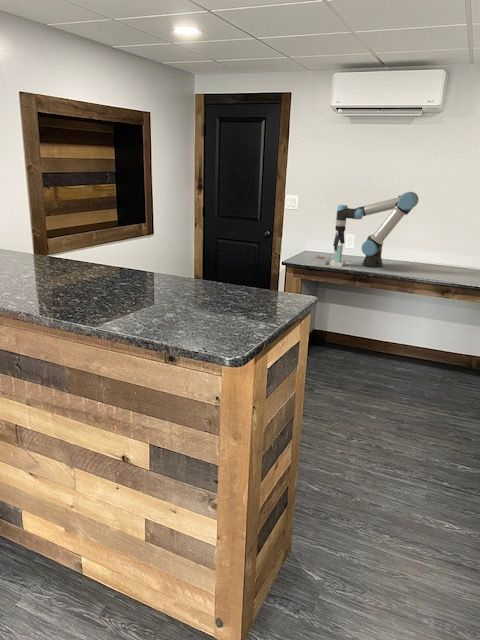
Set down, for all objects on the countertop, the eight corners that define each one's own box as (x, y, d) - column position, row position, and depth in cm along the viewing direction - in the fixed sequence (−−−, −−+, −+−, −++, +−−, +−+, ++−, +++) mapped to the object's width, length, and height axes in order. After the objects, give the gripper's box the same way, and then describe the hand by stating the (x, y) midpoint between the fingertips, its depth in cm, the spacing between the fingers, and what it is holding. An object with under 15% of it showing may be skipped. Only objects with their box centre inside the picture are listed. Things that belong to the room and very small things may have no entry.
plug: (340, 264, 398) (342, 245, 393) (339, 265, 394) (340, 246, 389) (335, 264, 399) (337, 245, 395) (334, 265, 396) (335, 246, 391)
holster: (345, 264, 399) (345, 261, 398) (341, 266, 390) (342, 263, 390) (333, 263, 403) (333, 259, 402) (329, 265, 395) (329, 262, 394)
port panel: (330, 262, 405) (330, 256, 404) (325, 265, 395) (325, 259, 394) (316, 260, 411) (316, 255, 409) (310, 263, 401) (311, 257, 399)
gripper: (340, 223, 399) (338, 249, 406) (330, 227, 378) (328, 254, 385) (350, 224, 396) (347, 251, 403) (340, 228, 375) (337, 256, 382)
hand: (338, 253), depth 394 cm, fingers open, 13 cm apart
